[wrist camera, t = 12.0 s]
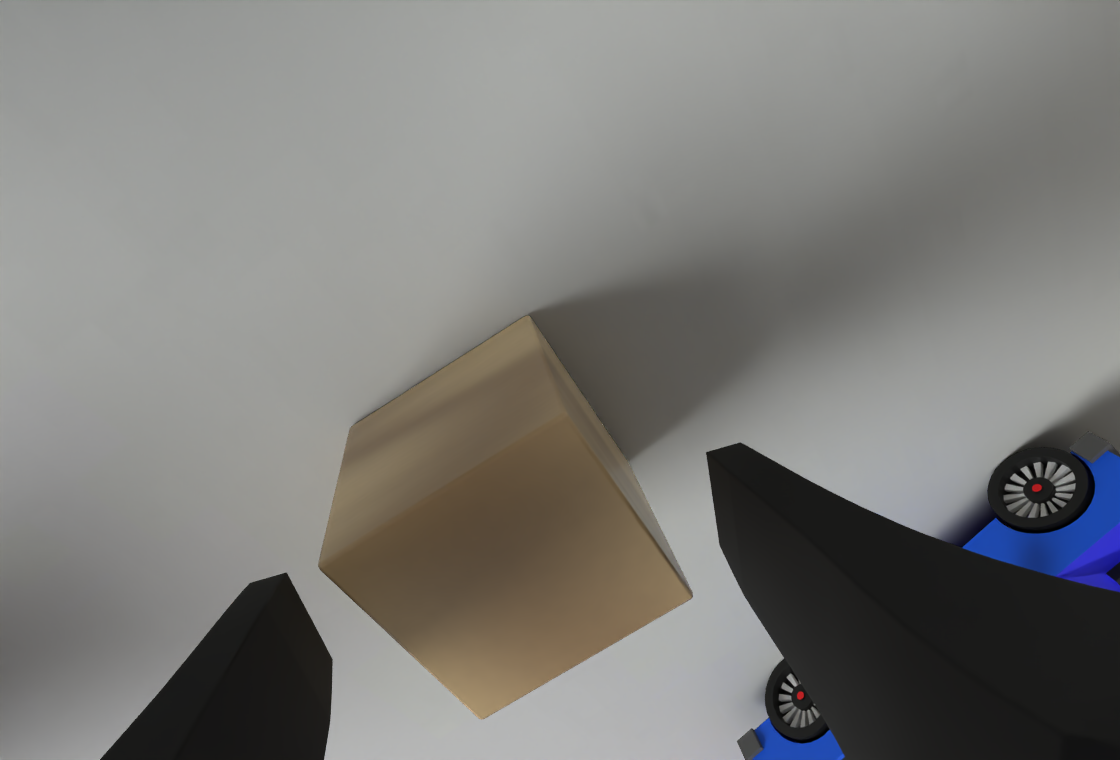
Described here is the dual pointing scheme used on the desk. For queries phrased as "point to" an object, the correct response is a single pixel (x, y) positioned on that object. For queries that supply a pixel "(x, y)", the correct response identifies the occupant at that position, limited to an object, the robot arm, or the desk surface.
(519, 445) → the block
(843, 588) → the robot arm
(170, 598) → the desk surface
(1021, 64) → the desk surface
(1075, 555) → the toy car
